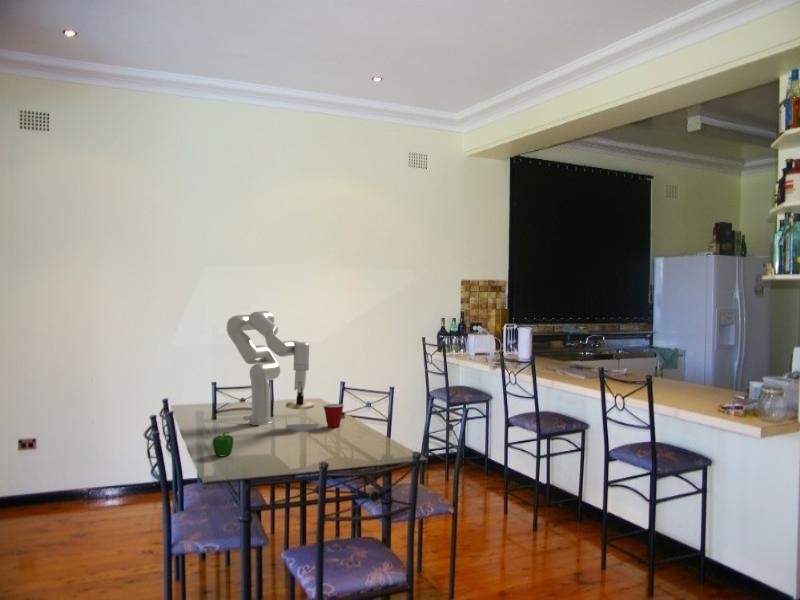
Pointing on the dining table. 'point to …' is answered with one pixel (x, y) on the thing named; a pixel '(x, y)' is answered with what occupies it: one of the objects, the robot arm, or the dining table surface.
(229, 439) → the bell pepper
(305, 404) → the lid
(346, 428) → the dining table surface
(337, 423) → the plastic cup
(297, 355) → the robot arm
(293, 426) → the mat
